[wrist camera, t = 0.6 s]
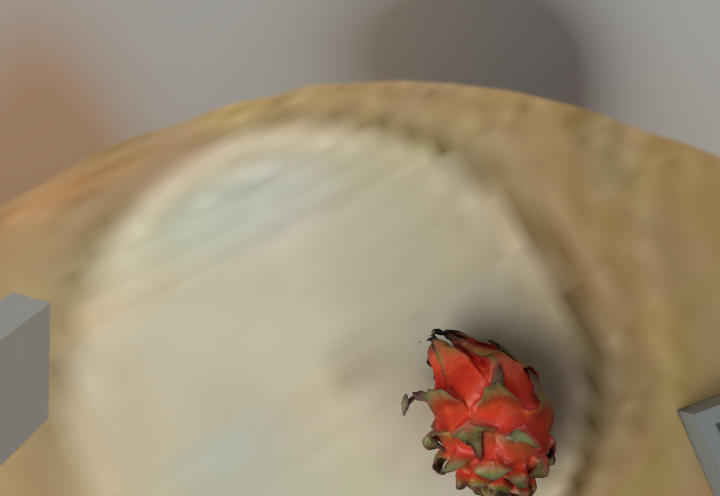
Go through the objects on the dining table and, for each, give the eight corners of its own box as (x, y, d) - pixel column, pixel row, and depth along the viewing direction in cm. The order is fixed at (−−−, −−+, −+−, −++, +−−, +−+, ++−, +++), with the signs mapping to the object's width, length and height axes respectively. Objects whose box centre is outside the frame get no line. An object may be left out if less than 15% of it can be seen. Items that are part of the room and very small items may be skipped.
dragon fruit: (504, 500, 45) (428, 345, 49) (611, 460, 41) (519, 292, 44) (442, 548, 39) (359, 364, 42) (562, 506, 34) (458, 303, 38)
